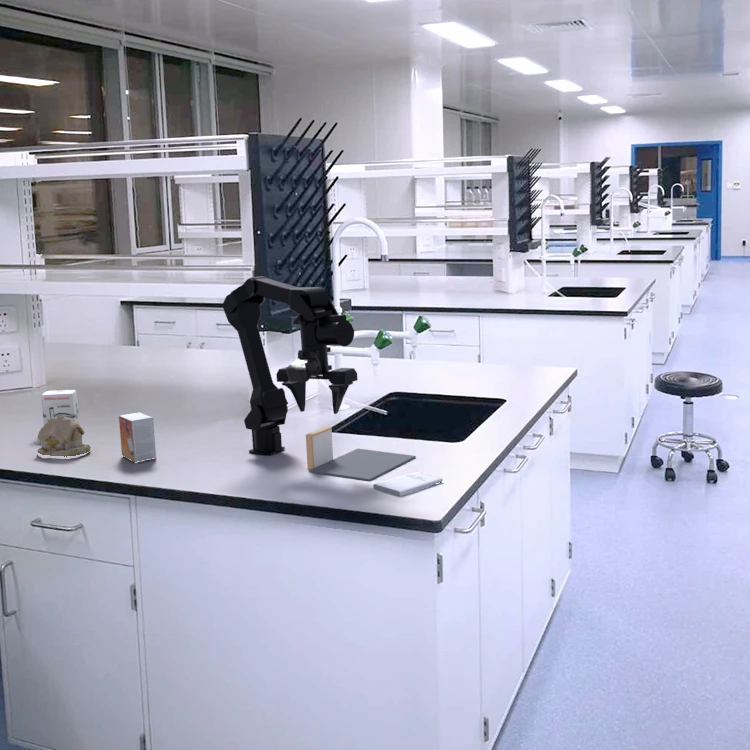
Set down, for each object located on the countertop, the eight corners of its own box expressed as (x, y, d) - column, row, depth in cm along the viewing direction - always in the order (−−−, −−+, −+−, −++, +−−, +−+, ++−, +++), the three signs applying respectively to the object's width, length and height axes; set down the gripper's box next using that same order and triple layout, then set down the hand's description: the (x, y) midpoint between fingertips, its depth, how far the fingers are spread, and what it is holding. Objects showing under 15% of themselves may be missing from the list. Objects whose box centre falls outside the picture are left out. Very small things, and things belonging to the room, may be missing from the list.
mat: (309, 472, 200) (309, 470, 200) (357, 450, 216) (357, 448, 216) (369, 481, 191) (369, 479, 191) (415, 457, 208) (415, 455, 208)
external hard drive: (373, 491, 186) (415, 477, 195) (400, 499, 180) (443, 484, 189) (372, 483, 186) (415, 470, 194) (400, 491, 180) (442, 477, 188)
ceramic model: (27, 457, 222) (22, 418, 220) (60, 446, 232) (56, 408, 230) (69, 462, 216) (65, 422, 214) (102, 450, 226) (98, 412, 224)
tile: (307, 468, 202) (305, 434, 201) (327, 459, 209) (326, 426, 208) (314, 469, 201) (312, 435, 200) (334, 460, 208) (332, 427, 207)
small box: (121, 457, 218) (117, 415, 216) (143, 453, 222) (139, 411, 220) (134, 464, 212) (130, 420, 210) (157, 459, 215) (153, 416, 213)
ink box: (44, 437, 242) (39, 394, 240) (48, 432, 247) (44, 390, 245) (76, 435, 243) (72, 392, 240) (80, 430, 247) (76, 389, 245)
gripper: (258, 348, 199) (264, 417, 201) (328, 350, 189) (333, 422, 191) (288, 342, 208) (293, 407, 210) (356, 343, 198) (361, 412, 201)
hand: (319, 412), depth 203 cm, fingers open, 9 cm apart
